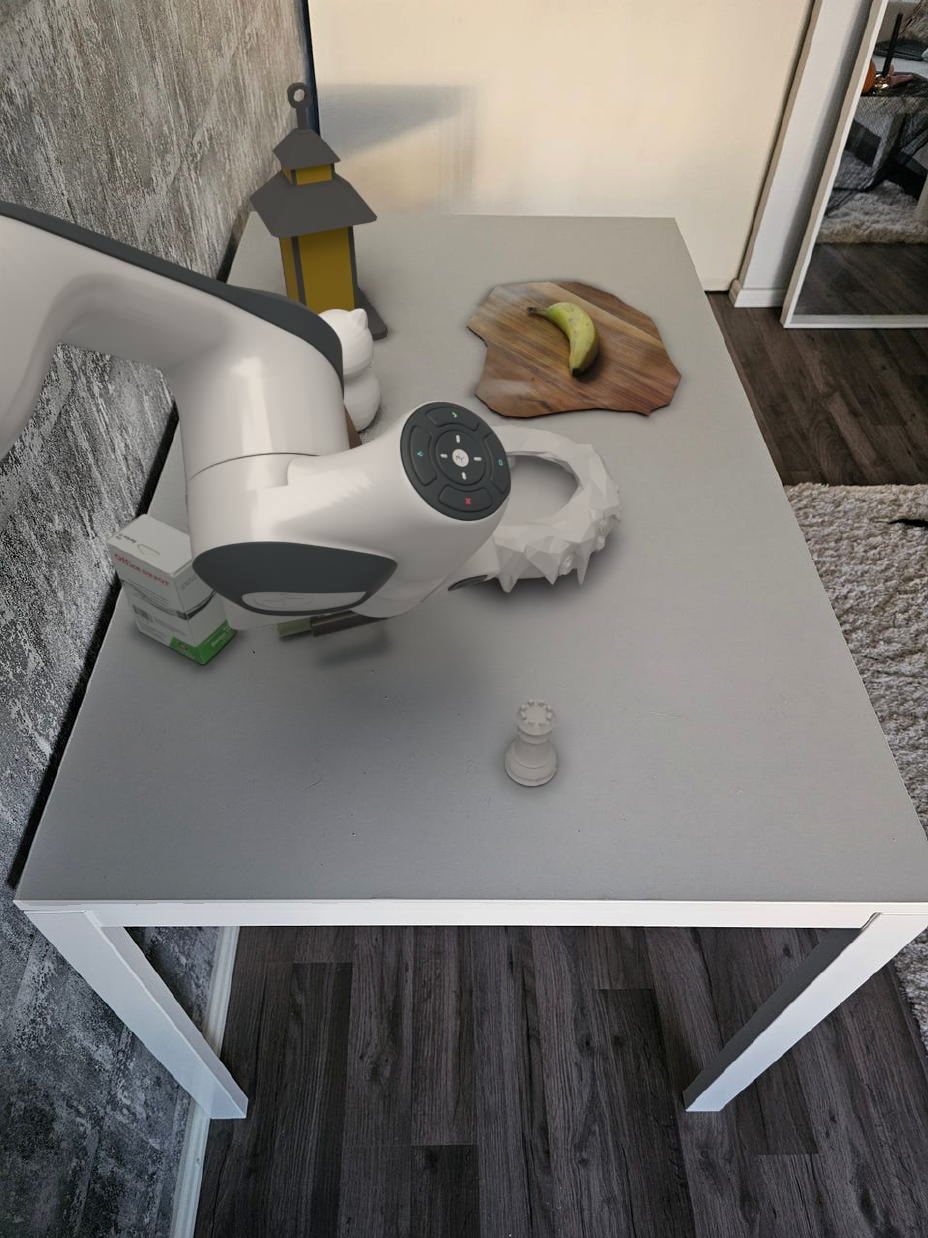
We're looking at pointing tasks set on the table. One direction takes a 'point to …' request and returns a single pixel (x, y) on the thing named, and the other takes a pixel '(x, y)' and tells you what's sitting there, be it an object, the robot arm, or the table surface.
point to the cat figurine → (356, 364)
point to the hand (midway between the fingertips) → (337, 603)
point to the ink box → (168, 589)
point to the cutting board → (569, 351)
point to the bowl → (552, 506)
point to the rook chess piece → (532, 745)
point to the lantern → (315, 221)
